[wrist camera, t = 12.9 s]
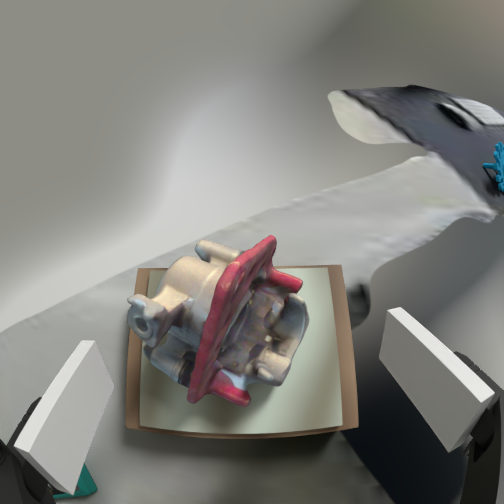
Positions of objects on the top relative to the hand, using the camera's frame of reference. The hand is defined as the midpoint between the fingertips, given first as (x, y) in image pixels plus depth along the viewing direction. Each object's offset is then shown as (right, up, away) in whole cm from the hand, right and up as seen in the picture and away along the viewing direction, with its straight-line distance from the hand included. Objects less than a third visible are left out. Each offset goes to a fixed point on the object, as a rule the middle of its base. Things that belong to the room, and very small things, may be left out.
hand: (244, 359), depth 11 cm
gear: (+50, +19, +27) cm, 60 cm away
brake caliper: (-1, -2, +9) cm, 10 cm away
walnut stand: (-1, -5, +13) cm, 14 cm away
